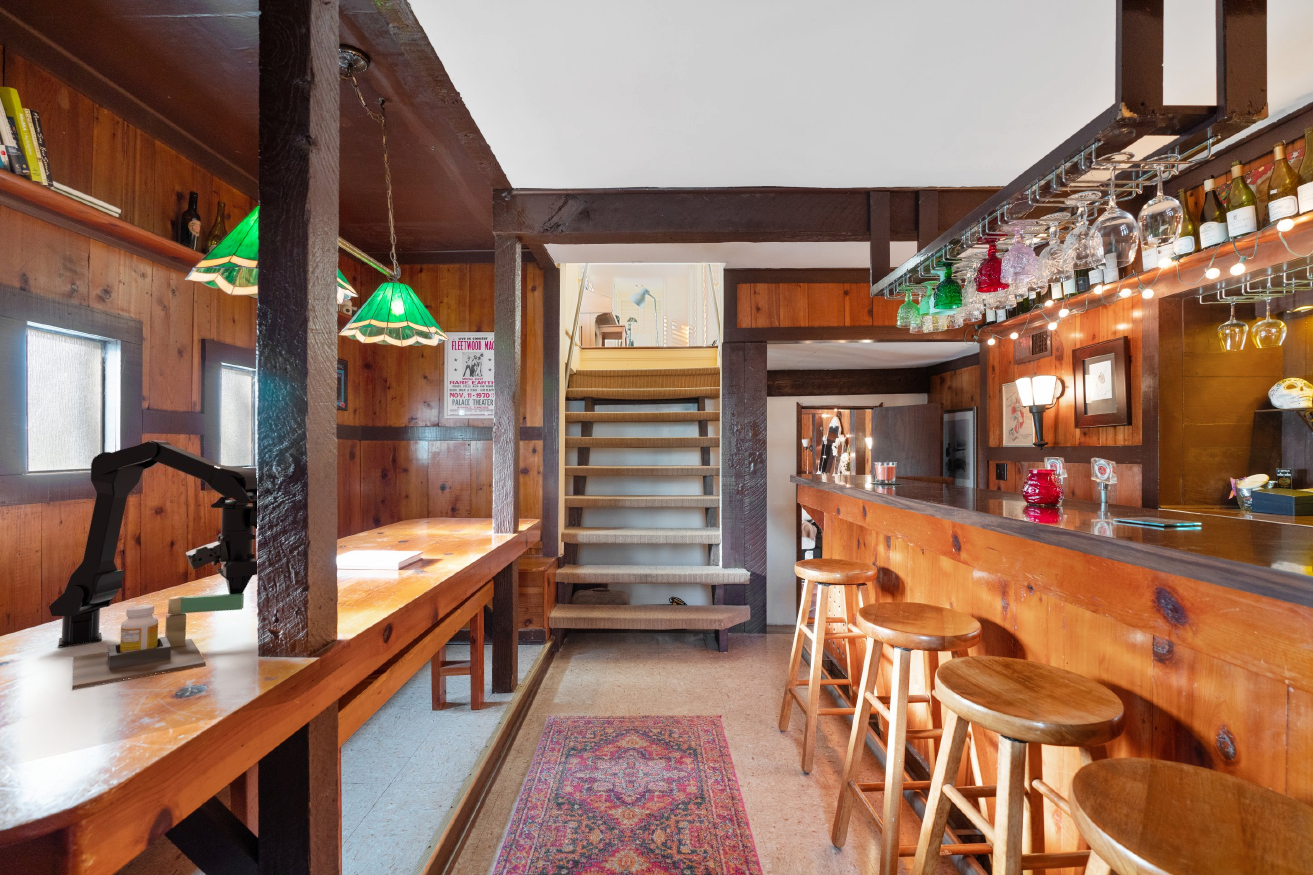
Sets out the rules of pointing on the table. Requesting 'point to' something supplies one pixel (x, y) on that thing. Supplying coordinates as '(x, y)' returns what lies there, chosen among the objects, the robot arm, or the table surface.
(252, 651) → the table surface
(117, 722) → the table surface
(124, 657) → the bottle stand
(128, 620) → the supplement bottle
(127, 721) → the table surface
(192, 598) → the keeper arm
